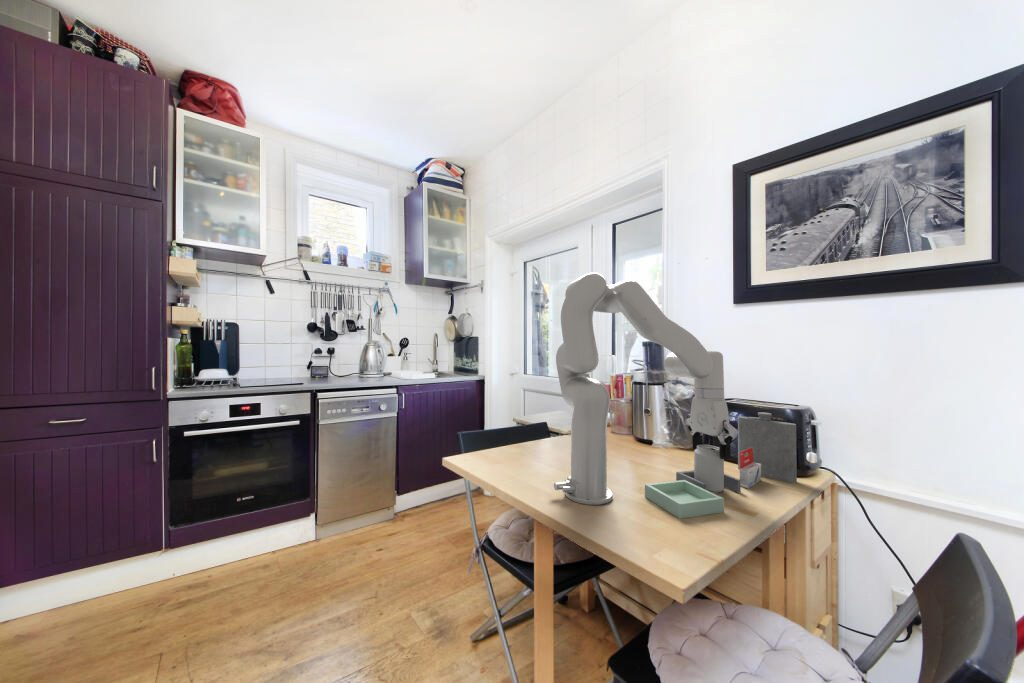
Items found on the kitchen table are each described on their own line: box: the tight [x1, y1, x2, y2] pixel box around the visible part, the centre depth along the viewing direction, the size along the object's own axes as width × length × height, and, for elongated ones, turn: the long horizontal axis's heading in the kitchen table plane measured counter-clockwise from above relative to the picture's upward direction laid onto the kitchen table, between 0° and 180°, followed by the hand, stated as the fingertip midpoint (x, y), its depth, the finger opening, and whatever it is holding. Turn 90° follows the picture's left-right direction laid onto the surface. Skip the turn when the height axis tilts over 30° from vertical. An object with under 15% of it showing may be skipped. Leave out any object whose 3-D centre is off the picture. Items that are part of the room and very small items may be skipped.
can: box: [693, 444, 725, 494], centre depth 103 cm, size 8×8×12 cm
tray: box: [644, 480, 725, 519], centre depth 92 cm, size 13×13×3 cm
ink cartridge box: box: [739, 447, 762, 489], centre depth 108 cm, size 2×11×10 cm, turn 129°
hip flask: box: [737, 411, 798, 484], centre depth 115 cm, size 16×4×20 cm, turn 36°
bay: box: [675, 469, 742, 494], centre depth 103 cm, size 13×10×4 cm
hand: (710, 453), depth 103 cm, fingers open, 9 cm apart
